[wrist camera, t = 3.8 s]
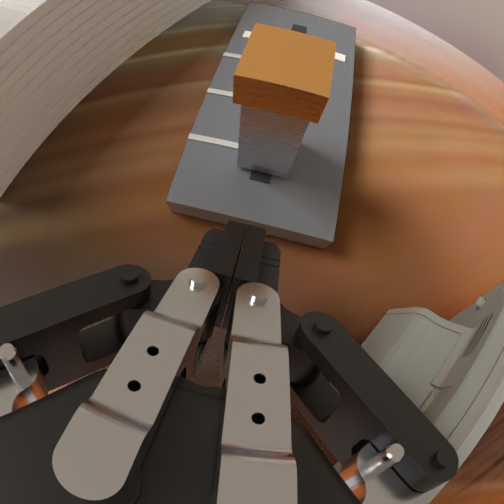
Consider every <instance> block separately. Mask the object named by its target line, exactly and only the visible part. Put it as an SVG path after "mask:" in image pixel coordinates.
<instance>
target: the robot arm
mask: <svg viewBox="0 0 504 504" xmlns="http://www.w3.org/2000/svg"><path fill="white" fill-rule="evenodd" d="M246 226H247V224H245V223H241V222H237V221H233V220H229V221H228V224H227V226H226V229H225V231H222V230H218V229H214V228H213V229H212V230H210V231H208V232H207V233H205V235H204V237H203V239H202V241H201V243H200V245H199V247H198V249H197V251H196V253H195V255H194V257H193V259H192V261H191V263H190V265H189V267H188V269H185V270H183V271H181V272H180V273H179V274H178V275H177V276H176V278H175V279H173V280H167V281H161V280H151V276H150V274H149V272H148V271H147V270H146V269H144V268H142V267H140V266H137V265H121V266H118V267H115V268H112V269H109V270H106V271H103V272H100V273H97V274H94V275H91V276H88V277H85V278H82V279H79V280H76V281H73V282H71V283H68V284H65V285H62V286H59V287H56V288H53V289H50V290H48V291H45V292H42V293H39V294H36V295H33V296H31V297H28V298H25V299H22V300H19V301H17V302H14V303H11V304H8V305H6V306H3V307H0V504H413V503H414V502H415V501H416V500H417V499H418V498H419V497H420V496H421V495H422V494H424V493H426V492H428V491H430V490H432V489H434V488H436V487H438V486H439V485H441V484H443V483H445V482H447V481H449V480H450V479H452V478H453V477H454V475H455V474H456V472H457V470H458V465H459V460H458V455H457V452H456V450H455V449H454V447H453V446H452V445H451V444H450V443H449V442H448V440H447V439H446V438H445V437H444V436H443V435H442V434H441V433H440V432H439V430H438V429H437V428H436V427H435V426H434V425H433V424H432V423H431V422H430V421H429V419H428V418H427V417H426V416H425V415H424V414H423V413H422V412H421V411H420V410H419V409H418V407H417V406H416V405H415V404H414V403H413V402H412V401H411V400H410V399H409V398H408V397H407V395H406V394H405V393H404V392H403V391H402V390H401V389H400V388H399V387H398V386H397V385H396V384H395V382H394V381H393V380H392V379H391V378H390V377H389V376H388V375H387V374H386V373H385V372H384V371H383V369H382V368H381V367H380V366H379V365H378V364H377V363H376V362H375V361H374V360H373V359H372V358H371V357H370V356H369V354H368V353H367V352H366V351H365V350H364V349H363V348H362V347H361V346H360V345H359V344H358V343H357V342H356V341H355V339H354V338H353V337H352V336H351V335H350V334H349V333H348V332H347V331H346V330H345V329H344V328H343V327H342V326H341V325H340V324H339V322H338V321H337V320H335V319H334V318H333V317H331V316H330V315H327V314H325V313H321V312H310V313H307V314H305V315H304V316H303V317H300V316H298V315H296V314H294V313H292V312H290V311H289V310H287V309H286V308H285V307H284V306H283V305H282V304H281V303H280V298H279V295H278V294H277V289H278V278H279V266H280V253H281V252H280V250H279V248H278V247H277V245H276V244H274V243H270V242H266V241H264V238H265V232H266V229H265V228H261V227H257V226H253V225H249V224H248V228H247V231H246V235H245V239H244V234H245V230H246ZM243 239H244V242H243ZM242 243H243V246H242ZM241 247H242V249H241ZM240 251H241V253H240ZM239 255H240V257H239ZM232 282H233V283H232ZM231 286H232V287H231ZM230 290H231V292H230ZM229 293H230V296H229ZM228 297H229V300H228ZM227 301H228V305H227V309H226V313H225V318H224V322H223V326H222V328H224V329H227V333H226V337H225V341H224V345H223V351H222V358H221V365H220V373H219V380H218V387H203V386H200V385H197V384H195V383H193V380H194V378H195V375H196V373H197V370H198V368H199V365H200V363H201V360H202V358H203V355H204V353H205V350H206V348H207V345H208V342H209V338H210V337H211V335H212V332H213V329H214V326H216V327H221V323H222V319H223V316H224V312H225V308H226V304H227ZM110 316H112V319H111V320H108V321H106V322H103V323H101V324H98V325H96V326H93V327H91V328H88V329H86V330H83V331H81V332H80V330H81V329H82V328H84V327H85V326H88V325H90V324H93V323H95V322H98V321H100V320H103V319H105V318H108V317H110ZM109 364H111V365H110V367H109V368H108V369H105V370H101V371H98V372H95V373H93V374H91V375H89V376H86V377H84V378H82V379H80V380H78V381H76V382H74V383H72V384H70V385H68V386H66V387H64V388H62V389H59V390H57V391H55V392H53V393H51V394H49V395H47V394H48V391H50V390H53V389H55V388H57V387H60V386H62V385H64V384H67V383H69V382H71V381H73V380H76V379H78V378H80V377H83V376H85V375H87V374H89V373H92V372H94V371H96V370H98V369H100V368H103V367H105V366H107V365H109ZM321 372H322V373H323V374H324V375H325V377H326V378H327V379H328V380H329V381H330V383H331V384H332V385H333V386H334V387H335V389H336V390H337V391H338V392H337V391H336V390H335V389H334V388H333V386H332V385H331V384H330V383H329V382H328V380H327V379H326V378H325V377H324V376H323V374H322V373H321ZM338 393H339V394H340V395H339V394H338ZM290 400H291V401H292V403H293V404H294V405H295V407H296V408H297V409H298V411H299V412H300V413H301V415H302V416H303V417H304V419H305V420H306V421H307V423H308V424H309V425H310V426H311V428H312V429H313V430H314V432H315V433H316V434H317V435H318V437H319V438H320V439H321V441H322V442H323V443H324V444H325V446H326V447H327V448H328V449H329V451H330V452H331V453H332V454H333V456H334V457H335V458H336V459H337V461H338V462H339V463H340V464H341V466H342V467H341V470H340V475H339V473H338V472H337V471H336V469H335V468H334V467H333V465H332V464H331V463H330V461H329V460H328V459H327V457H326V456H325V454H324V453H323V452H322V450H321V449H320V448H319V446H318V445H317V444H316V442H315V441H314V439H313V438H312V437H311V435H310V434H309V432H308V431H307V430H306V428H305V427H304V426H303V425H302V424H301V423H300V422H299V421H298V420H297V419H296V418H295V417H294V416H293V415H291V408H290Z"/></svg>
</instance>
